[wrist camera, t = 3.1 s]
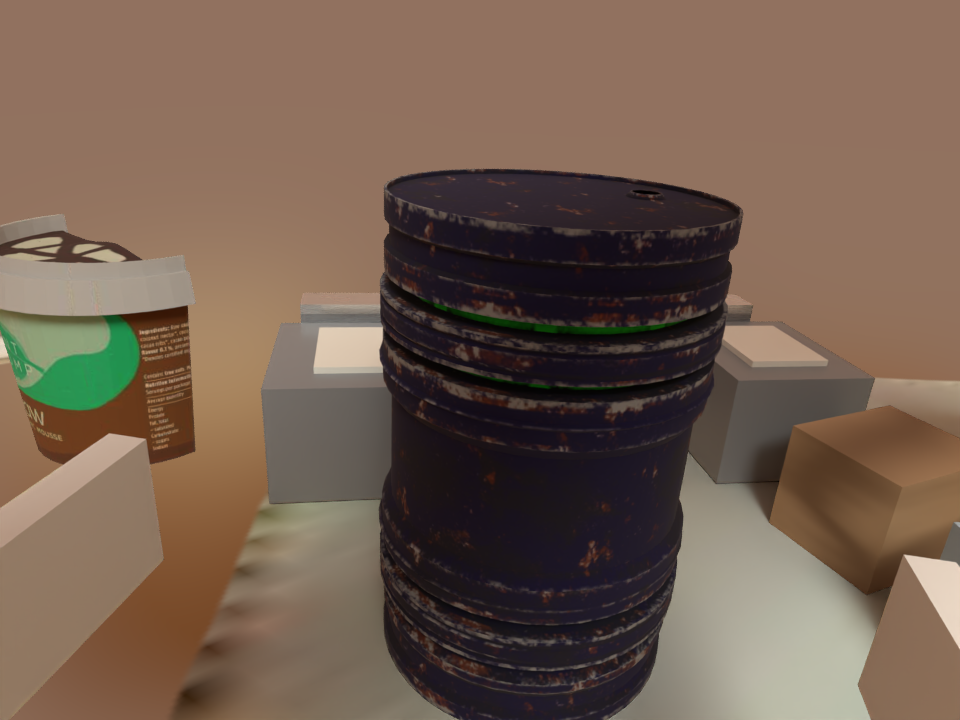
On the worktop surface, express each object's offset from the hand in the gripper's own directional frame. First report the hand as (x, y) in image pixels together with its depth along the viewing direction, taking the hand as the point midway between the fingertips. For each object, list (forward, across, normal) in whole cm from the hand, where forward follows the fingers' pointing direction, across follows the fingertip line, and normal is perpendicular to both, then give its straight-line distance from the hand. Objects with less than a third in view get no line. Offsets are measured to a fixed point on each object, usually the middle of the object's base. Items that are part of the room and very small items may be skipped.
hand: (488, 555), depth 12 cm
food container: (+16, -23, -10) cm, 30 cm away
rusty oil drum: (+10, 0, -10) cm, 14 cm away
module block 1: (+19, -9, -10) cm, 23 cm away
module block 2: (+26, +10, -10) cm, 29 cm away
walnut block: (+18, +14, -10) cm, 25 cm away
